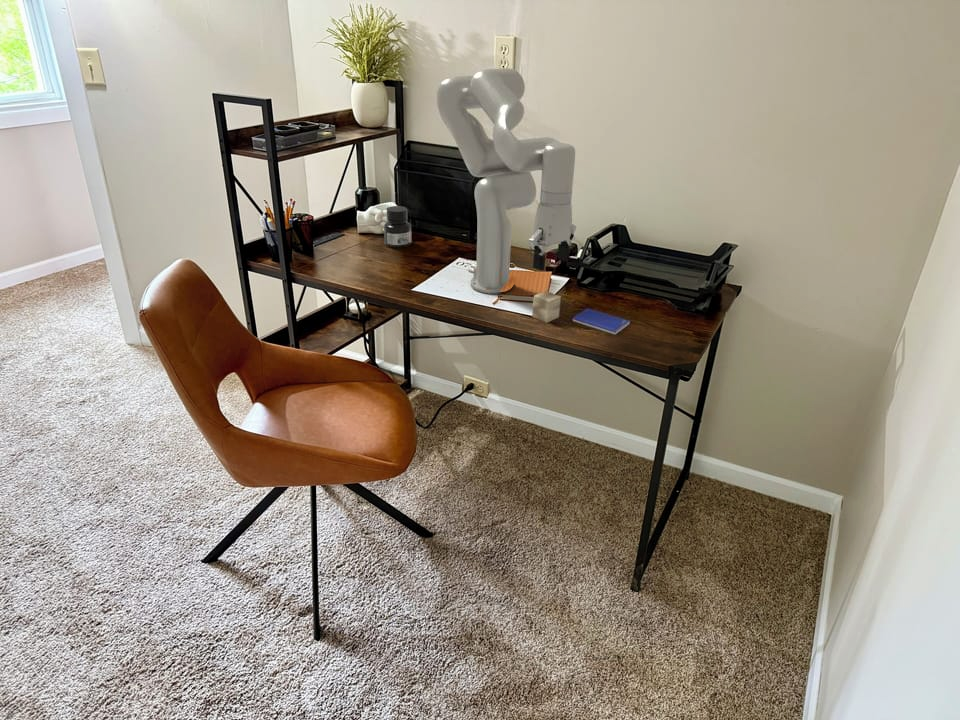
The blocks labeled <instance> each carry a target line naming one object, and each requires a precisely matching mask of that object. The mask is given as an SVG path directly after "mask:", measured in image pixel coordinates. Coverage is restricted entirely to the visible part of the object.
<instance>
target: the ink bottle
mask: <svg viewBox="0 0 960 720" xmlns="http://www.w3.org/2000/svg"><path fill="white" fill-rule="evenodd" d="M383 232H384V233H383V235H384V244H385V246H387V247H388V248H389V247H390V248H394V249H395V248H396V249H398V248H400V249H401V248H406V247H409V246H411V244H412V226H411V223H410V222H408V207H405V206H401V205H393V206H392V205H391V206H388V207H386V222H385V223H384V225H383Z"/></svg>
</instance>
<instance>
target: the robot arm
mask: <svg viewBox="0 0 960 720" xmlns="http://www.w3.org/2000/svg"><path fill="white" fill-rule="evenodd" d="M525 88H526V86H525V79H524V78H523V75H521V73H520V72H519V71H517V70H516V69H515V68H509V67H508V68H505V67H504V68H486V69H483V70H480V71H478V72H476V73H475V74H473V75H458V76H456V75H455V76H451V77H448V78H446V79H444V80H442V81H441V82H440V83H439V85H438V87H437V92H436V103H437V104H436V105H437V108H438V113H439V115H440V117H441V120H442V122H443V123H444V126H445V127H446V128H447V129H448V131H449V133H450V134H451V135H452V137H453V139H454V141H455V143H456V146H457V148H458V150H459V153H460V154H461V157H462V160H463V162H464V164H465V166H466V167H467V168H466V169H468V172H469V173H470V174H471V175H472V176H473V177H476V178H482V179H479V181H478V182H477V183H476V185H475V187H474V200H475V206H476V207H475V208H476V217H477V225H476V226H477V232H476V233H477V237H476V240H477V241H476V264H475V263H471V265H470V267H468V270H467V271H468V273H470V274H473V277H472V279H470V287H471V288H472V289H473V290H475V291H476V292H479V293H480V292H481V293H482V294H483V293H485V294H500V293H499V292H500V291H501V289H502V287H503V286H504V285H505V284H507V283H508V282H509V278H510V265H511V263H510V262H511V247H512V246H511V245H512V224H511V220H510V219H509V218H508V216H507V214H506V211H509V210H514V209H519V208H526V207H529V206H530V205H532V204H533V203H534V201H535V199H536V197H537V186H536V183H535V180H534V177H533V175H532V173H531V172H536V171H541V181H540V184H541V185H540V194H539V195H540V197H539V199H540V200H539V203H538V204H537V207H536V213H535V217H534V224H533V233H532V235H531V237H530V238H529V239H528V243H529V246H530V249H531V253H532V254H533V261H532V267H533V269H535V270H539V271H542V272H543V271H544V270H546V269H545V266H546V254H545V253H546V251H547V249H548V247H551V246H554V245H557V244H558V245H557V256H556V257H557V259H558V260H560V261H563V262H568V261H569V259H570V249H571V247H570V246H572V241H573V239H574V237H575V233H576V232H575V231H576V229H577V226H576V225H575V224H573V210H572V207H573V205H572V196H573V187H574V185H573V184H574V174H575V162H576V149H575V146H574V145H572V144H569V143H563V142H560V141H559V140H557V139H555V138H553V137H549V136H548V137H536V138H535V137H534V138H524V139H518V138H517V137H516V136H515V135H514V133H513V132H512V130H513V129H515V128H516V127H517V126H518V125H519V124H520V122H521V121H522V119H523V117H524V114H525V107H524V105H523V103H522V102H521V99H522V98H523V97H524V95H525V90H526V89H525ZM475 109H481V110H483V111H484V113H485V114H486V115H487V117H488V118H489V119H490V121H491V122H492V124H493V129H492V139H491V138H489V137H488V135H487V133H486V131H485V128H484V126H483V125H482V123H481V122H480V120H478V118H476V117H475V116H474V115H473V114H471V113H470V112H469V111H468V110H475ZM541 246H542V247H541ZM540 247H541V248H540Z"/></svg>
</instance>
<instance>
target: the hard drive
mask: <svg viewBox="0 0 960 720" xmlns="http://www.w3.org/2000/svg"><path fill="white" fill-rule="evenodd" d="M572 322H575V323H578V324H582V325H584V326H587V327H590V328H593V329H597V330H600V331H602V332H606V333H608V334H612V335H617V334H618V333H619V332H621V331H622V330H623V329H625V328H626V327H628V325H630V323H631V321H630V320H627V319H625V318H622V317H618V316H614V315H611V314H608V313H605V312H601V311H597V310H594V309H591V308H585V309H584V310H583V311H581V312H579V313H578V314H576V315H574V316H573V317H572Z"/></svg>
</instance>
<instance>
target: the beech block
mask: <svg viewBox="0 0 960 720" xmlns="http://www.w3.org/2000/svg"><path fill="white" fill-rule="evenodd" d="M561 297H562V296H561V295H558V294H556V293H552V292H550V291H549V290H548V291H547V290H544V291H542V292H539V293H538V294H535V295H533V299H532V300H533V301H532V313H531V315H532V318H535V319H536V320H539V321H541V322H545V323H550V322H551V321H554V320H556V319H559V317H560V309H561Z"/></svg>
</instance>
